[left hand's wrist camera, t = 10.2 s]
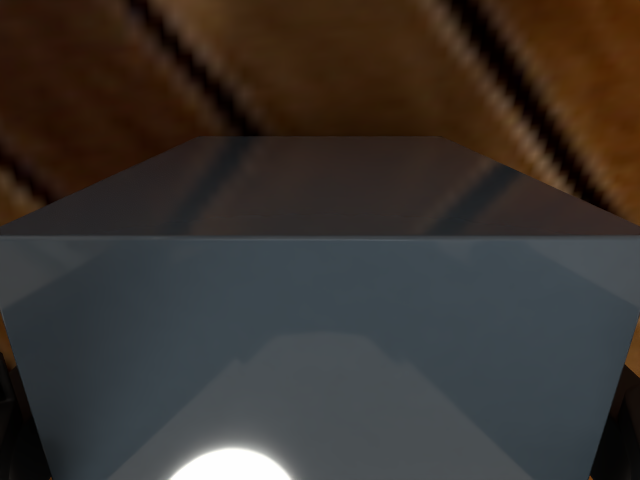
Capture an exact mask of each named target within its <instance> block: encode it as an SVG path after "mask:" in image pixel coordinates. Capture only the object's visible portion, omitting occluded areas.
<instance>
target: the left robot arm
mask: <svg viewBox="0 0 640 480" xmlns="http://www.w3.org/2000/svg"><path fill="white" fill-rule="evenodd" d="M590 476H591V477H592V479H593V480H640V378H639V377H638V376H637V375H636V374H635V373H634V372H632V371H631V370H630V369H629V368H628V367H627V366H626V365H625V364H624V367H623V370H622V373H621V376H620V380H619V383H618V386H617V389H616V393H615V396H614V399H613V402H612V405H611V409H610V412H609V415H608V418H607V421H606V425H605V428H604V431H603V434H602V438H601V441H600V444H599V447H598V450H597V454H596V457H595V460H594V463H593V467H592V470H591V473H590ZM50 477H51V474H50V471H49V467H48V464H47V461H46V458H45V454H44V451H43V448H42V445H41V442H40V438H39V435H38V432H37V429H36V425H35V422H34V419H33V416H32V413H31V409H30V406H29V403H28V400H27V396H26V393H25V390H24V387H23V384H22V380H21V377H20V374H19V371H18V367H17V366H16V367H15V368H14V369H13V370H11V371H10V372H8V369H7V366H6V363H5V360H4V357H3V354H2V353H1V352H0V480H49V479H50Z"/></svg>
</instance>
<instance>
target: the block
mask: <svg viewBox="0 0 640 480" xmlns="http://www.w3.org/2000/svg"><path fill="white" fill-rule="evenodd" d="M0 313H1V316H2V319H3V322H4V325H5V329H6V332H7V335H8V338H9V342H10V345H11V348H12V351H13V355H14V358H15V361H16V364H17V367H18V371H19V374H20V377H21V380H22V384H23V387H24V390H25V393H26V396H27V400H28V403H29V406H30V409H31V413H32V416H33V419H34V422H35V425H36V429H37V432H38V435H39V438H40V442H41V445H42V448H43V451H44V454H45V458H46V461H47V464H48V467H49V471H50V474H51V477H52V480H588V479H589V476H590V473H591V470H592V467H593V463H594V460H595V457H596V454H597V450H598V447H599V444H600V441H601V438H602V434H603V431H604V428H605V425H606V421H607V418H608V415H609V412H610V409H611V405H612V402H613V399H614V396H615V393H616V389H617V386H618V383H619V380H620V376H621V373H622V370H623V367H624V364H625V360H626V357H627V354H628V351H629V348H630V344H631V341H632V338H633V335H634V331H635V328H636V325H637V322H638V319H639V315H640V226H638V225H635V224H633V223H631V222H629V221H627V220H624V219H622V218H620V217H618V216H616V215H613V214H611V213H609V212H607V211H605V210H602V209H600V208H598V207H596V206H594V205H591V204H589V203H587V202H585V201H583V200H580V199H578V198H576V197H574V196H572V195H569V194H567V193H565V192H563V191H561V190H558V189H556V188H554V187H552V186H550V185H547V184H545V183H543V182H541V181H539V180H536V179H534V178H532V177H530V176H527V175H525V174H523V173H521V172H519V171H516V170H514V169H512V168H510V167H508V166H505V165H503V164H501V163H499V162H497V161H494V160H492V159H490V158H488V157H486V156H483V155H481V154H479V153H477V152H475V151H472V150H470V149H468V148H466V147H464V146H461V145H459V144H457V143H455V142H453V141H450V140H448V139H446V138H444V137H442V136H199V137H197V138H194V139H192V140H190V141H188V142H186V143H183V144H181V145H179V146H177V147H175V148H172V149H170V150H168V151H166V152H164V153H161V154H159V155H157V156H155V157H153V158H150V159H148V160H146V161H144V162H142V163H139V164H137V165H135V166H133V167H131V168H128V169H126V170H124V171H122V172H120V173H117V174H115V175H113V176H111V177H109V178H106V179H104V180H102V181H100V182H98V183H95V184H93V185H91V186H89V187H87V188H84V189H82V190H80V191H78V192H76V193H74V194H71V195H69V196H67V197H65V198H63V199H60V200H58V201H56V202H54V203H52V204H49V205H47V206H45V207H43V208H41V209H38V210H36V211H34V212H32V213H30V214H27V215H25V216H23V217H21V218H19V219H16V220H14V221H12V222H10V223H8V224H5V225H3V226H1V227H0Z"/></svg>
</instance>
